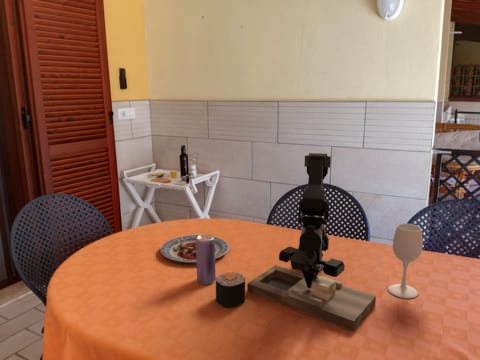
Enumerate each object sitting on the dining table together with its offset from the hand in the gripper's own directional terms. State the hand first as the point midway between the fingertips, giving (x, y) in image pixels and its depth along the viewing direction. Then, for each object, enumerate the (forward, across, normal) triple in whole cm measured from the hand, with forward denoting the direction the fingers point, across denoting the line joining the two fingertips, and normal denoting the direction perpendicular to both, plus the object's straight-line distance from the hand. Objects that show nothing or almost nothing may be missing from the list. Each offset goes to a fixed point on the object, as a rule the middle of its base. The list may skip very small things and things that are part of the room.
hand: (309, 287), depth 122 cm
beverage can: (+4, -32, -10) cm, 34 cm away
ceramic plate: (+4, -51, +5) cm, 51 cm away
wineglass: (+4, +21, +21) cm, 30 cm away
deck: (+4, 0, 0) cm, 4 cm away
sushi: (+4, -18, -15) cm, 24 cm away
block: (+1, +5, 0) cm, 5 cm away
